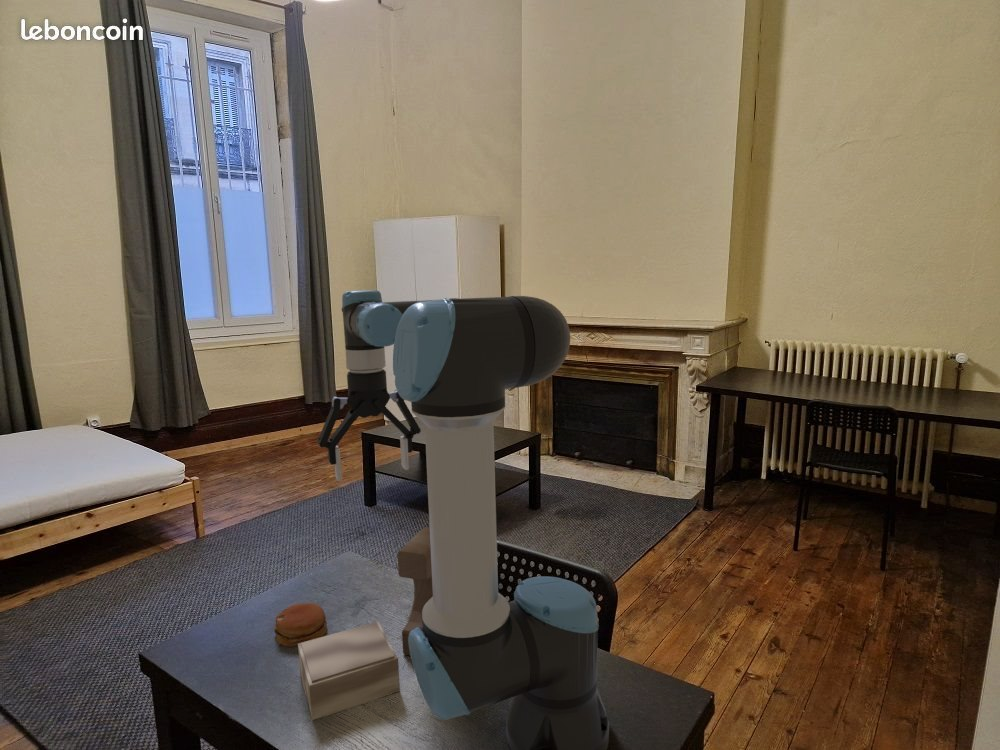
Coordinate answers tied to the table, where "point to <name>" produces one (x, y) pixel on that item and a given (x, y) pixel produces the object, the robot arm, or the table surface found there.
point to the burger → (300, 624)
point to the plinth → (347, 669)
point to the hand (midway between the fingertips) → (372, 473)
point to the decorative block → (416, 578)
